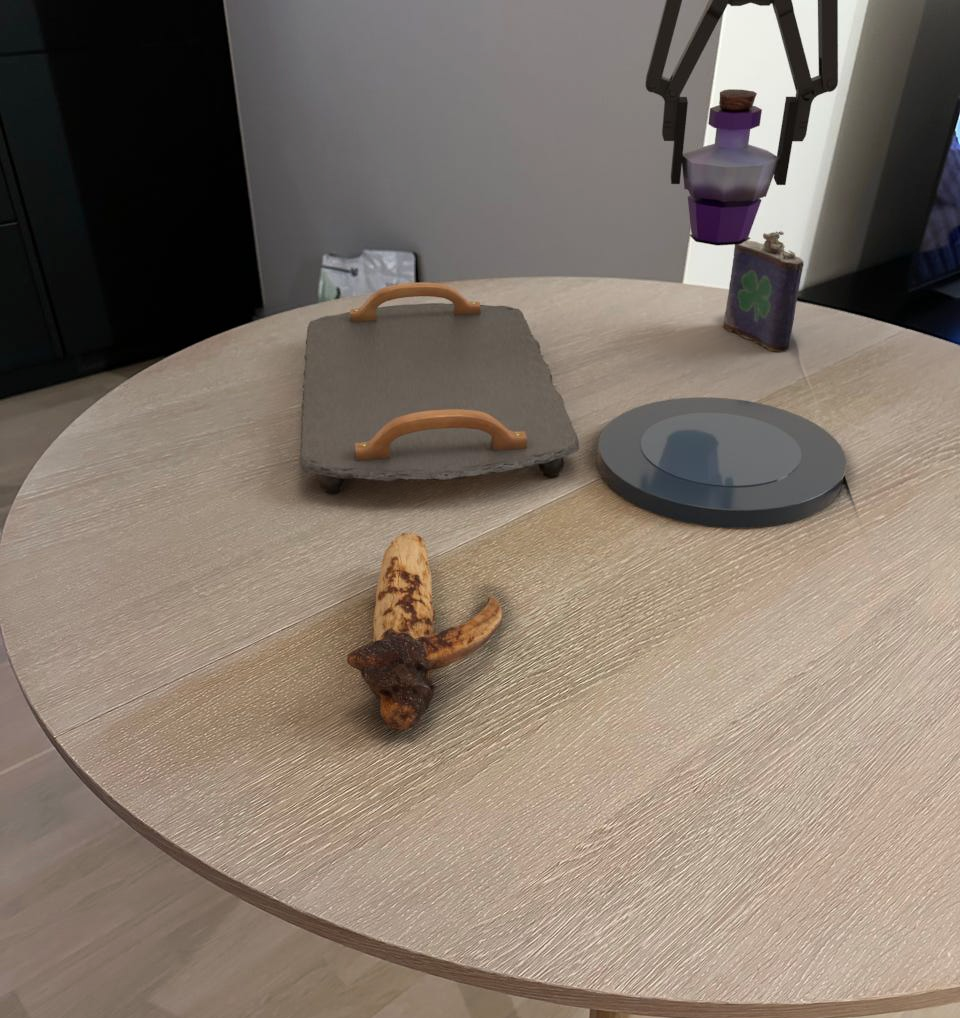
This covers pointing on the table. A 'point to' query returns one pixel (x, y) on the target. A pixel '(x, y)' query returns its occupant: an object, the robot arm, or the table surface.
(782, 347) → the flask
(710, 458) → the plate
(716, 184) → the potion bottle
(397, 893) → the table surface
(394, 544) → the bone fish hook
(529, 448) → the serving tray
